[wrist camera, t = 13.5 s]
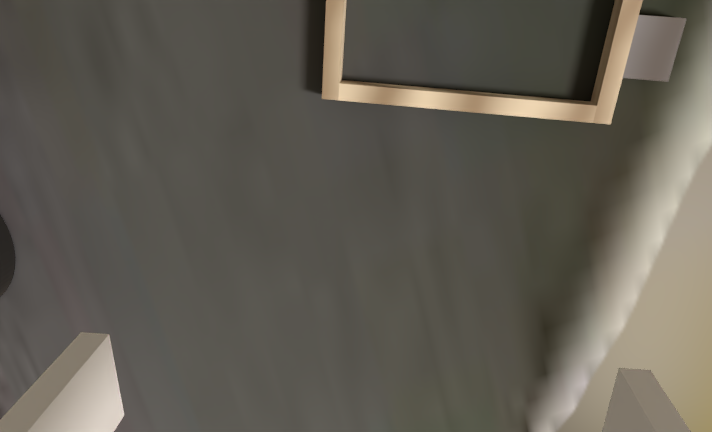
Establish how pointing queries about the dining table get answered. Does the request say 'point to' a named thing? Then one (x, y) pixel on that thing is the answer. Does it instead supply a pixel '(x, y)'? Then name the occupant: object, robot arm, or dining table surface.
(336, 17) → the pocket frame
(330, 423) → the dining table surface
